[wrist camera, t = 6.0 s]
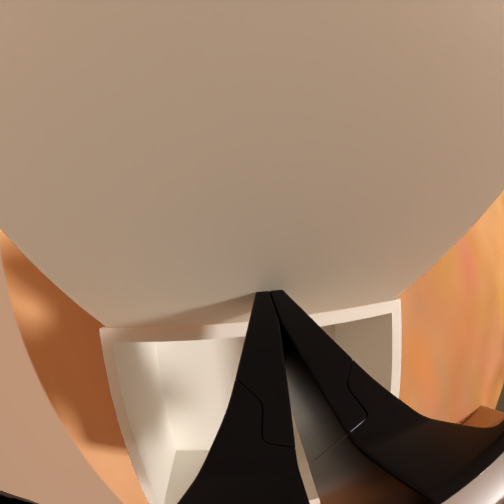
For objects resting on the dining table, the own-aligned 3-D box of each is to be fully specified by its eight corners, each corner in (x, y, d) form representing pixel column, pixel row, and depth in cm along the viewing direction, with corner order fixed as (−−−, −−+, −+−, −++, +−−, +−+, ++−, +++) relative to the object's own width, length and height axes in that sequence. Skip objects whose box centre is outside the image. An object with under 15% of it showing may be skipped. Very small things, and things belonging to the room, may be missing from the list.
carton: (339, 430, 18) (385, 480, 10) (171, 452, 17) (154, 515, 9) (336, 294, 20) (400, 298, 12) (145, 311, 18) (99, 328, 10)
